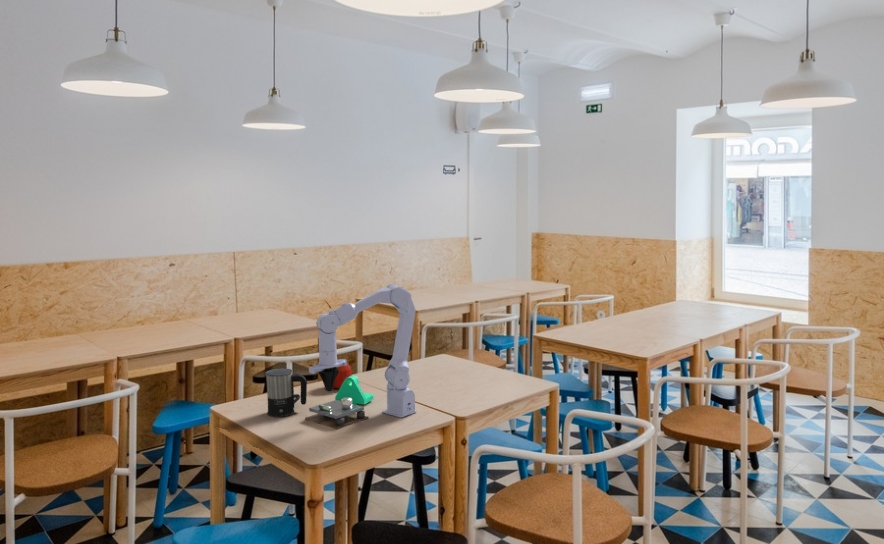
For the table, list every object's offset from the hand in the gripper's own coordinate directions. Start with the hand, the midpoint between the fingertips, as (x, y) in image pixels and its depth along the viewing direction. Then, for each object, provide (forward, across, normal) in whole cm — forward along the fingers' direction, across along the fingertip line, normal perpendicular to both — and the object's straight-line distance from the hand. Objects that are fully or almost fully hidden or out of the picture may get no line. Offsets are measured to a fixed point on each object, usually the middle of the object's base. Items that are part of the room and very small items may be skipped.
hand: (329, 390), depth 220 cm
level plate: (+7, -3, 0) cm, 8 cm away
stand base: (+10, -3, 0) cm, 11 cm away
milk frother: (+11, +2, -23) cm, 25 cm away
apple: (+11, -29, -29) cm, 42 cm away
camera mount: (+11, -20, -10) cm, 25 cm away
